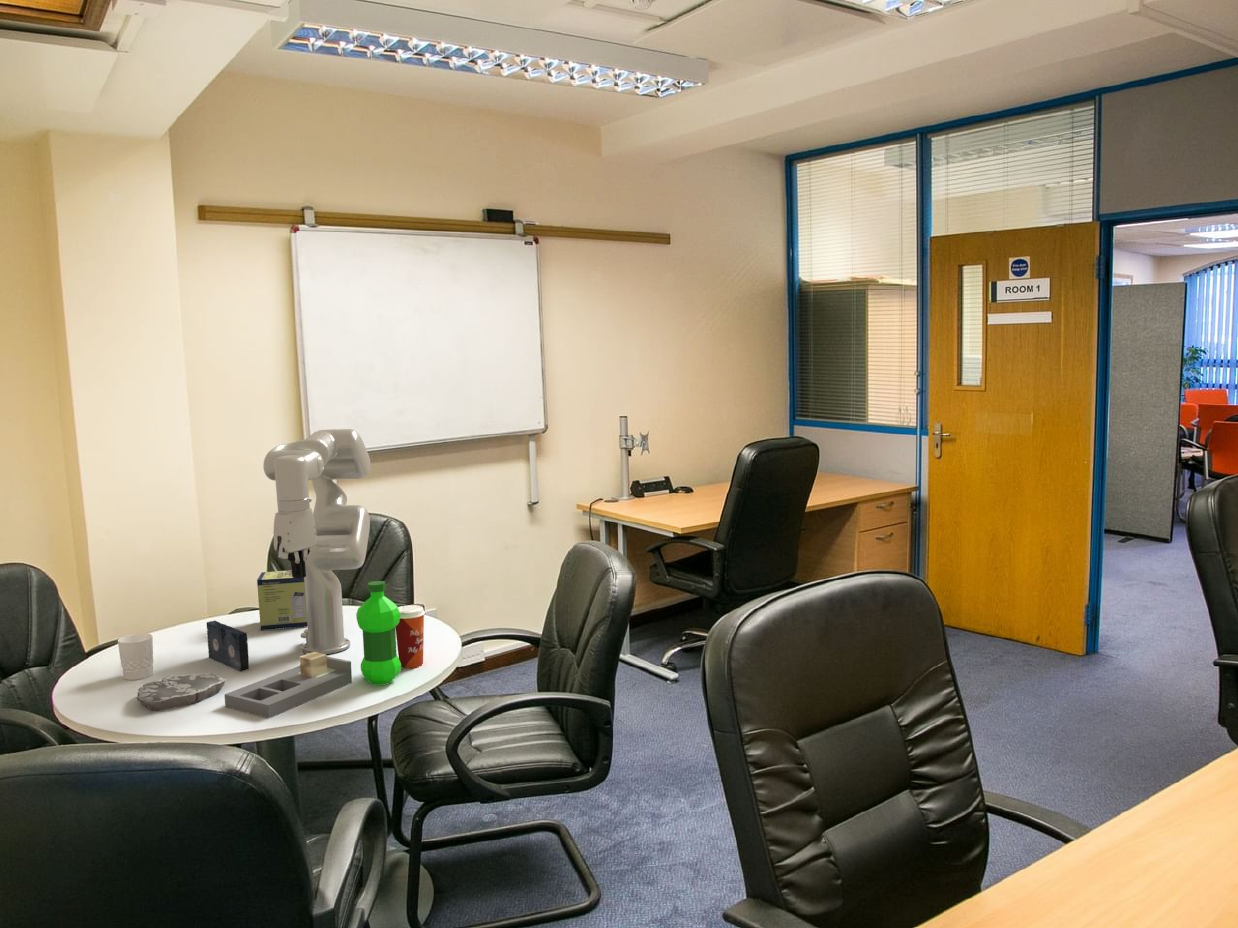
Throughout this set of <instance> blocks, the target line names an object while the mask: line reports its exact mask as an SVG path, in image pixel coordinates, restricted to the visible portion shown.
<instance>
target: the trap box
mask: <svg viewBox="0 0 1238 928" xmlns="http://www.w3.org/2000/svg"><path fill="white" fill-rule="evenodd" d="M306 654H309V653H305V654H304V655H306ZM327 672H328V673H325V674H322V675H319V676H316V677H313V678H311V677H307V676H304V675H301V673H300V665H297V666H295V667H293V668H290V669H287V670H285V671H281V672H280V673H276V674H274V675H271V676H269V677H266V678H263V679H261V680H259V681H255V682H253V683H251V684H248V685H246V686H243V687H240V688H238V689H235V690H234V689H233V691H229V692H227V693H225V694H224V707H225V708H228V709H232V710H236V711H239V712H240V711H241V712H245V713H248V714H252V715H257V716H259V717H262V718H263V717H264V718H268V719H270V718H273V717H275V716H278V715H280V714H282V713H284V712H287V711H289V710H291V709H294V708H296V707H299V706H301V705H303V704H305V703H306V704H307V703H308V702H310V701H313V700H315V699H317V698H320V697H322V696H325V695H327V694H330V693H331V692H334V691H336V690H338V689H340V688H344V687H345V686H348V685H350V684H352V683H353V678H352V677H353V675H352V661H350V660H346V659H342V658H338V657H337V658H335V657H331V656H327Z"/></svg>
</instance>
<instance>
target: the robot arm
mask: <svg viewBox="0 0 1238 928" xmlns="http://www.w3.org/2000/svg"><path fill="white" fill-rule="evenodd" d="M370 459H371V458H370V455H369V453H368V451H367V448H366V445H365V443H364V441H363V439H362V436H361V435H360V434H359V432H357V431H356V430H354V429H351V428H341V429H340V428H339V429H336V428H333V429H332V428H331V429H320V430H317V431H314V432H313V433H312V434H311V435H309V436H307V437H306V438H305V439H300V440H296V441H293V442H292V441H291V442H289V443H288V442H287V443H285V444H281V445H277V446H275V447H273V448H271V449H270V450H269V451H268V452H267V453H266V455H265V457H264V459H263V465H262V467H263V472H264V474H265V476H266V477H267V478H268V479H269V480H270V481H271V480H272V481H275V489H276V491H275V492H276V501H277V502H276V503H277V512H276V513H274V519H273V549H274V551H275V552H277V553H278V559H280V560H281V559H283V560H288V562H289V563H290V566H291V567H290V568H291V570H292V577H294V578H300V579H301V578H303V577H304V582H305V596H306V612H307V628H305V629H304V630H303V632H301V633H300V638H302V639H305V643H304V644H303V645H302V652H304V653H305V654H306V653H313V652H318V653H322V654H325V655H329V654H336V653H339V652H342V651H345V650H347V649H349V647H350V646H351V640H350V639H349V638H346V637H345V630H344V628H345V627H344V614H343V612H344V611H343V593H342V584H341V582H340V580H339V578H338V576H337V575H336V574H335V573H334V572H333V571H341V570H342V571H344V570H357V569H359V568H362V566H363V565H364V563H365V561H366V556H367V550H368V542H369V536H370V529H371V528H370V527H371V518H370V514H369V511H368V510H367V509H366V508H365V507H364V506H362V505H357V504H356V505H355V504H353V505H350V504H349V505H348V504H347V502H348V497H347V494H346V492H345V491H344V490H343V488H341V487H340V486H339V485H338V484H337V483H335V482H334V481H333V480H359V479H364V478H367V476H368V475H369V474H370V472H371V466H372V465H371V460H370ZM309 481H311V484H312V486H313V489H314V493H315V503H314V509H312V507H311V505H310V503H311V502H312V501H313V500H312V497H310V493H309V492H310V490H309Z"/></svg>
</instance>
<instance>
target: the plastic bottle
mask: <svg viewBox="0 0 1238 928" xmlns="http://www.w3.org/2000/svg"><path fill="white" fill-rule="evenodd" d="M386 585H387V584H386V581H383V580H375V581H369V582H368V583H367V591H368V592H369V594H370V597H368V598H367V599H366V600H365V601H364V602H363V603H362V604H361V605H360V606H359V607H358V608H357V609H356V610H357V611H356V614H355V615H356V616H355V617H356V622H357V625H358V628H359V629H360V630H361V631H362V641H363V642H362V645H363V658H362V660H361V663H360V671H361V674H362V677H363V678H364V679H365V680H366V681H368V682H369V683H372V684H371V685H375V686H384V684H385V685H388V684H387V683H389V684H391V681H392V682H393V680H394V679H395V678H397V677H398V675H400V672H401V670H402V667H401V663H400V660H399V656H398V655H397V654H398V652H397V639H396V629H395V627H396V626H397V625H398V624H399V621H400V612H399V609H398V607H399V606H398V605H397V603H394V602H393V601H392V600H391V599H389V598H388V597H386V596H385V591H386V590H387V589H386Z"/></svg>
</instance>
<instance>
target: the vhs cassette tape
mask: <svg viewBox="0 0 1238 928" xmlns="http://www.w3.org/2000/svg"><path fill="white" fill-rule="evenodd" d="M206 629H207V630H206V635H207V637H206V638H207V639H206V640H207V648H208V659H211V660H213V661H215V662H217V663H220V664H222V665H224V666H226V667H229V668H230V669H233V670H236V671H238V672H244V671H249V669H250V663H249V662H250V661H249V658H250V657H249V647H248V646H249V645H248V643H249V642H248V632H244V631H242V630H239V629H238V628H235V627H233V626H230V625H227V624H225V623H221V622H220V621H217V620H210V621H206Z"/></svg>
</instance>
